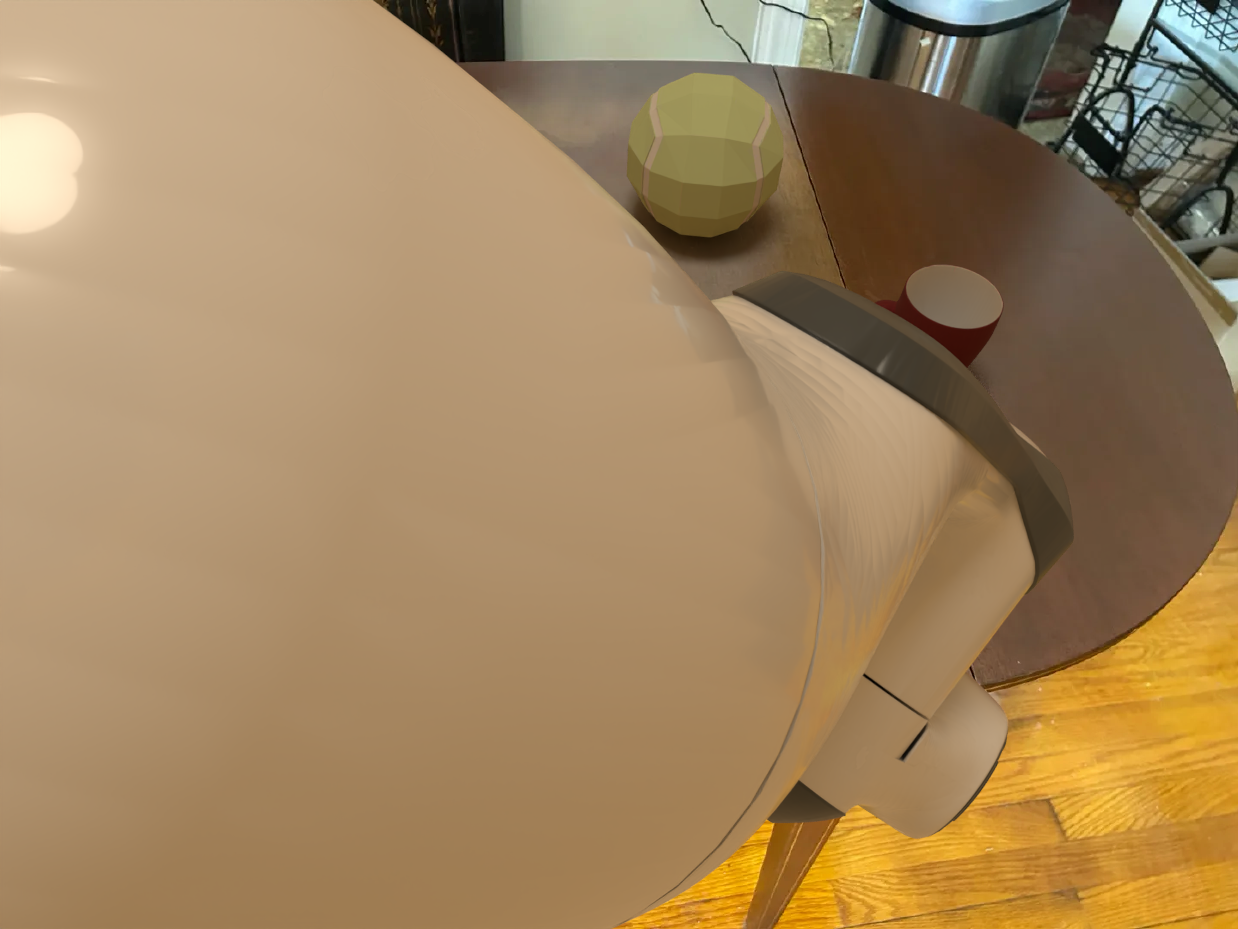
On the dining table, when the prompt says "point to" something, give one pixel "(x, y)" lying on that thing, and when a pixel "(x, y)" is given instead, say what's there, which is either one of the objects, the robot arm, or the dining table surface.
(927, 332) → the mug
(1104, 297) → the dining table surface
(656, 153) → the decorative sphere
